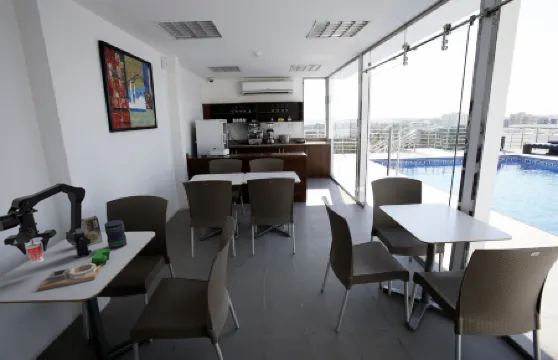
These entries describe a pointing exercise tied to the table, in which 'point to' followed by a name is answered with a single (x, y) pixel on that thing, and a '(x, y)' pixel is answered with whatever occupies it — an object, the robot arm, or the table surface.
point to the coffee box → (92, 229)
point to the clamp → (101, 256)
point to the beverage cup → (35, 252)
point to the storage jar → (115, 234)
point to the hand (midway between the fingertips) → (35, 252)
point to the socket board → (68, 280)
